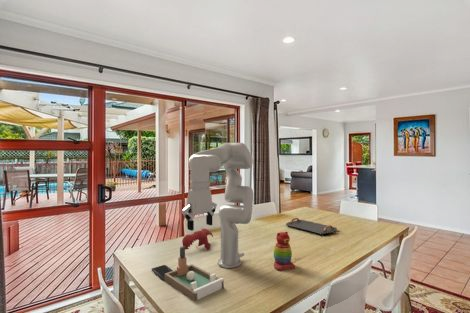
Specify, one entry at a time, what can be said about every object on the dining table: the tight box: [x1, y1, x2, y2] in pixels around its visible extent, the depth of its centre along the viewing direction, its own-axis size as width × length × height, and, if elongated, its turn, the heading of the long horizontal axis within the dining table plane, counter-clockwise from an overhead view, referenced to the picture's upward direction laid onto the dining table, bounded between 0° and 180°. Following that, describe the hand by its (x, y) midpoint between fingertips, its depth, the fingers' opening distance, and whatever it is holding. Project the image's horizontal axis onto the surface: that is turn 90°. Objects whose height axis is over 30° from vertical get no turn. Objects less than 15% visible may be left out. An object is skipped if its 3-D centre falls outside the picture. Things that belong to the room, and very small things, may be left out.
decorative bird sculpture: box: [181, 228, 214, 251], centre depth 163 cm, size 28×9×15 cm
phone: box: [151, 264, 174, 282], centre depth 129 cm, size 8×1×15 cm
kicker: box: [176, 245, 188, 276], centre depth 124 cm, size 5×2×13 cm, turn 134°
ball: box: [186, 271, 195, 281], centre depth 119 cm, size 4×4×4 cm
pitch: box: [164, 264, 225, 302], centre depth 118 cm, size 15×24×5 cm, turn 44°
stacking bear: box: [273, 231, 296, 272], centre depth 137 cm, size 11×10×18 cm
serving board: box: [285, 217, 338, 237], centre depth 207 cm, size 39×23×6 cm, turn 40°
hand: (200, 227), depth 107 cm, fingers open, 9 cm apart
